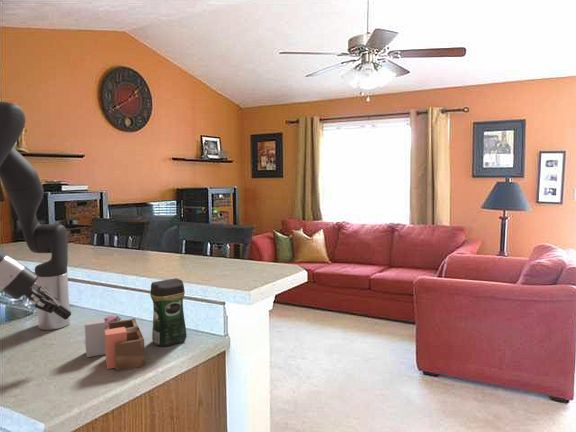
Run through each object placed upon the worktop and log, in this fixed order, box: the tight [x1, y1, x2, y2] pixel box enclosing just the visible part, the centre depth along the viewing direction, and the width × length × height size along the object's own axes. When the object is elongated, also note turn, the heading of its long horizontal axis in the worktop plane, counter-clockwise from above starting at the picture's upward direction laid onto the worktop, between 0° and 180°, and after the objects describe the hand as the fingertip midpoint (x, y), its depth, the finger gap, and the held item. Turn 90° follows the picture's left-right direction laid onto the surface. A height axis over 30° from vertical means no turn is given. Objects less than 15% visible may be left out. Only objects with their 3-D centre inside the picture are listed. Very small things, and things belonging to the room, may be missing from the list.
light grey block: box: [83, 317, 106, 358], centre depth 121 cm, size 4×5×9 cm
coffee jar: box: [149, 277, 188, 347], centre depth 129 cm, size 10×8×19 cm
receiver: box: [109, 318, 146, 372], centre depth 120 cm, size 18×7×7 cm, turn 26°
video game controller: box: [104, 314, 122, 330], centre depth 135 cm, size 10×5×7 cm, turn 170°
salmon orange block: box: [105, 327, 127, 370], centre depth 114 cm, size 4×5×9 cm
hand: (68, 316), depth 118 cm, fingers closed
